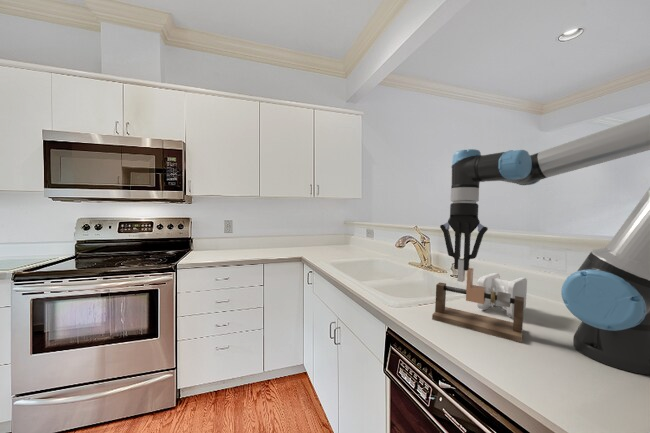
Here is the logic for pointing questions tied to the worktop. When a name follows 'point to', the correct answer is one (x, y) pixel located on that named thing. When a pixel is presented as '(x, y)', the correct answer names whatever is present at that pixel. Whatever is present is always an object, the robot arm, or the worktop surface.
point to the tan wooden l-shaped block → (474, 289)
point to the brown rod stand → (479, 321)
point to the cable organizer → (502, 290)
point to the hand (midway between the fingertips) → (461, 280)
